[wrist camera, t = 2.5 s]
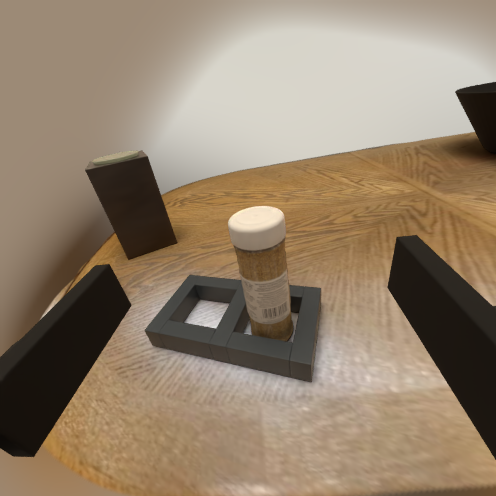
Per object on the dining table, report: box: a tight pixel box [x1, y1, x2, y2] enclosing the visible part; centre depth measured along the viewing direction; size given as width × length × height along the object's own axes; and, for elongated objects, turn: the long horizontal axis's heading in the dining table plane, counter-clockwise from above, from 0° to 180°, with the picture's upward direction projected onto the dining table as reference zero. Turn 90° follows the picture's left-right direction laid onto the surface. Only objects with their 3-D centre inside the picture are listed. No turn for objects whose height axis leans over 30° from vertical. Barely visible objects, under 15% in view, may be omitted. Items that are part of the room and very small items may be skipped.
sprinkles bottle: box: [228, 206, 293, 341], centre depth 23 cm, size 5×5×13 cm
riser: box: [85, 151, 177, 259], centre depth 45 cm, size 9×9×16 cm
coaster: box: [92, 151, 139, 165], centre depth 41 cm, size 7×7×1 cm
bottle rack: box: [145, 275, 321, 382], centre depth 27 cm, size 17×9×2 cm, turn 71°
